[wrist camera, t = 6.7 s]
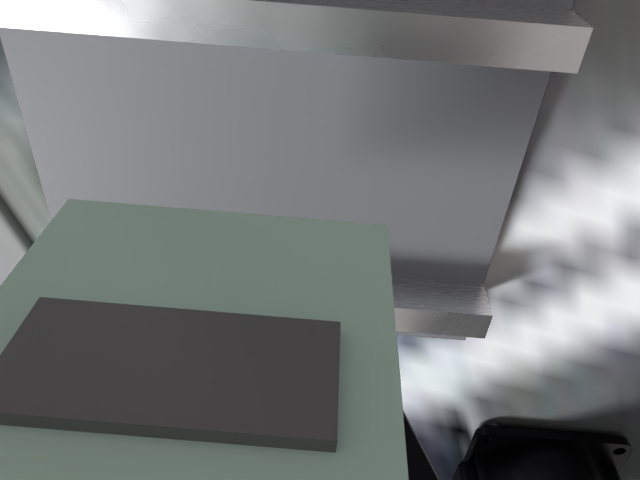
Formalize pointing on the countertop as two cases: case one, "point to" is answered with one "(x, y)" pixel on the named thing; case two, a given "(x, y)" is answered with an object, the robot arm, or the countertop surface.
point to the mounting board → (302, 118)
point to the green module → (200, 349)
